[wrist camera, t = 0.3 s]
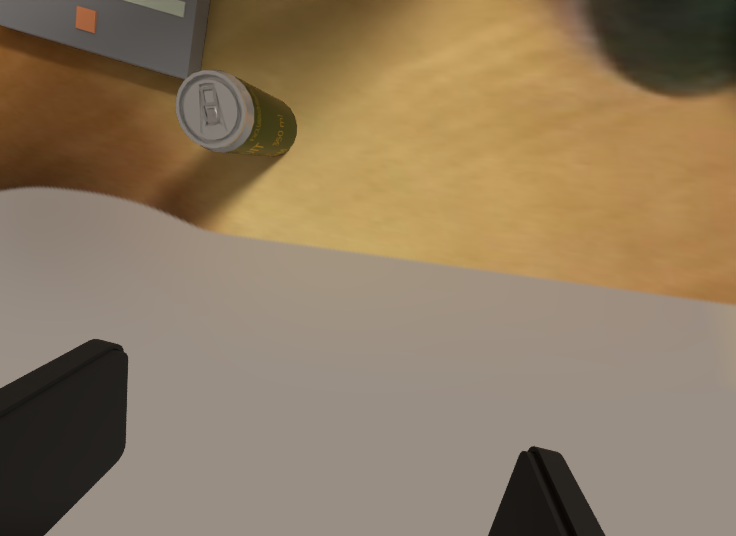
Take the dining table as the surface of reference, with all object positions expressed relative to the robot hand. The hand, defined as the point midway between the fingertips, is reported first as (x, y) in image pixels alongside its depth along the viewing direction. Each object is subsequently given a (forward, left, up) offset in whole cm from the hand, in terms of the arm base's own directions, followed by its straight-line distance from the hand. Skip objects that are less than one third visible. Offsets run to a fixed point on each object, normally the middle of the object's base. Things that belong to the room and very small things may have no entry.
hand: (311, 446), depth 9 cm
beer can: (-7, -14, -31) cm, 34 cm away
